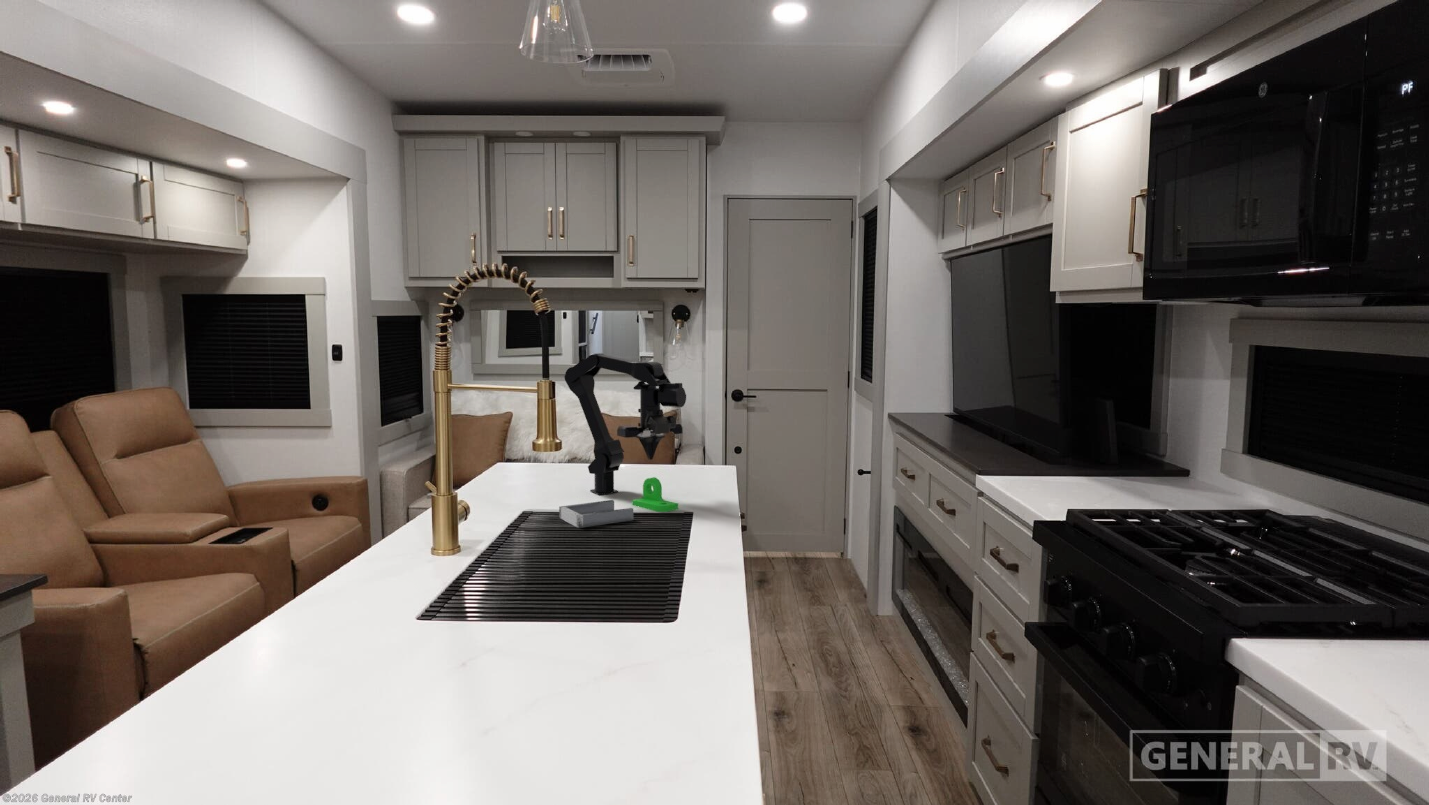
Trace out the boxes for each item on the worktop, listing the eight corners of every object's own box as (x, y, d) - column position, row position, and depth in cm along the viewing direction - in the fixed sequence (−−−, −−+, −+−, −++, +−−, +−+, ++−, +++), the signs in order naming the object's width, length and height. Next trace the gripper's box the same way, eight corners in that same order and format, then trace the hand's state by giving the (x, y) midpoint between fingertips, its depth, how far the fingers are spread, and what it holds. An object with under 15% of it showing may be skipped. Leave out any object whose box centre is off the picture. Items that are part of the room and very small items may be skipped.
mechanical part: (632, 507, 208) (632, 479, 208) (648, 503, 213) (648, 476, 212) (662, 514, 200) (662, 484, 200) (678, 510, 205) (678, 481, 204)
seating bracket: (559, 517, 194) (559, 506, 194) (612, 510, 203) (612, 500, 203) (578, 528, 184) (578, 516, 184) (633, 520, 193) (633, 508, 192)
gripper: (634, 409, 202) (634, 466, 203) (692, 406, 212) (692, 460, 213) (616, 406, 211) (616, 460, 212) (672, 403, 221) (672, 455, 223)
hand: (650, 459), depth 215 cm, fingers closed
